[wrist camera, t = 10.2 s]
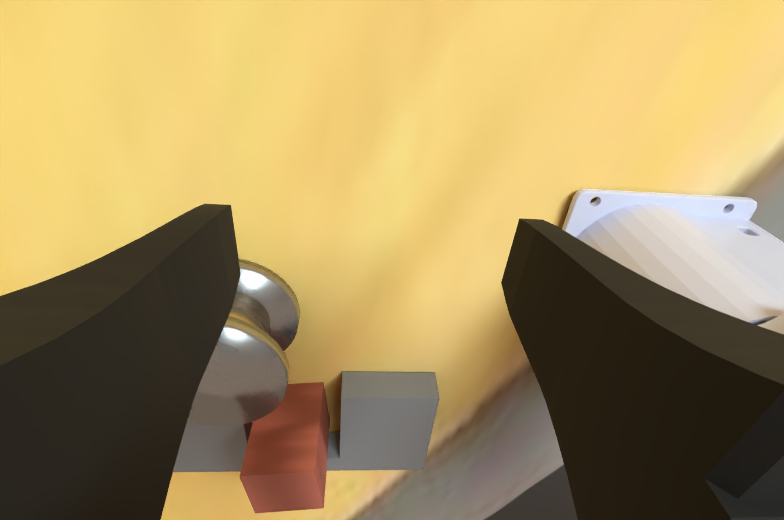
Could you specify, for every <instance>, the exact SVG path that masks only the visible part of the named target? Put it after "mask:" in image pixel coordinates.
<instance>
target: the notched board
mask: <svg viewBox="0 0 784 520" xmlns="http://www.w3.org/2000/svg"><path fill="white" fill-rule="evenodd" d="M438 401H439V394H438V388H437V383H436V377H435V373H429V372H345V371H342V390H341V423H340V432H329V441H328V455H327V469H326V471H328V470H423V468H424V464H425V459H426V455H427V450H428V446H429V442H430V437H431V433H432V428H433V424H434V419H435V415H436V410H437V406H438ZM252 424H253V422H250V423H246V424H241V425H235V426H206V425H199V424H194V423H190V422H187V424H186V427H185V430H184V434H183V437H182V440H181V444H180V448H179V451H178V455H177V458H176V462H175V466H174V469H173V472H225V471H241V469H242V464H243V460H244V456H245V452H246V448H247V444H248V440H249V436H250V432H251V428H252Z"/></svg>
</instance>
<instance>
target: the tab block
mask: <svg viewBox="0 0 784 520" xmlns="http://www.w3.org/2000/svg"><path fill="white" fill-rule="evenodd" d="M329 428H330V416H329V411H328V405H327V400H326V394H325V389H324V383H323V382H319V383H303V384H288V385H287V388H286V393H285V396H284V398H283V400H282V401H281V403H280V404H279V405H278V406H277V408H276V409H275V410H273V411H272V412H271V413H269V414H268V415H266V416H264V417H263V418H260V419H258V420H256V421H253V424H252V428H251V432H250V436H249V440H248V444H247V448H246V452H245V456H244V460H243V464H242V469H241V473H240V479H241V481H242V483H243V486H244V488H245V490H246V493H247V495H248V497H249V500H250V502H251V504H252V507H253V509H254V511H255V513H265V512H278V511H292V510H306V509H319V508H324V496H325V482H326V469H327V455H328V441H329Z"/></svg>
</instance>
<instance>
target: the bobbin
mask: <svg viewBox="0 0 784 520" xmlns="http://www.w3.org/2000/svg"><path fill="white" fill-rule="evenodd" d="M239 266H240V272H241V275H240V279H239V283H238V287H237V291H236V295H235V299H234V303H233V306H232V309H231V311H230V314H229V316H228V319H227V321H226V323H225V326H224V328H223V331H222V333H221V335H220V338H219V340H218V342H217V345H216V347H215V349H214V352H213V354H212V356H211V358H210V361H209V363H208V365H207V368H206V370H205V372H204V375H203V377H202V379H201V382H200V384H199V387H198V390H197V392H196V395H195V398H194V401H193V404H192V407H191V410H190V414H189V417H188V420H187V422H190V423H194V424H199V425H206V426H235V425H241V424H246V423H250V422H253V421H256V420H258V419H260V418H263V417H264V416H266V415H268V414H269V413H271V412H272V411H273V410H275V409H276V408H277V406H278V405H279V404H280V403H281V401H282V400H283V398H284V396H285V393H286V388H287V383H288V377H289V365H288V360H287V358H286V355H285V353H284V352H283V351H284V350H285V349H286V348H287V347H288V346H289V345H290V344H291V343H292V341H293V339H294V338H295V335H296V333H297V328H298V323H299V318H300V309H299V304H298V301H297V298H296V296H295V294H294V292H293V291H292V289H291V288H290V286H289V285H288V284H287V283H286V282H285V281H284V280H283V279H282V278H281V277H279V276H278V275H277V274H275V273H274V272H272V271H271V270H269V269H267V268H265V267H263V266H261V265H258V264H256V263H253V262H249V261H246V260H241V259H239Z"/></svg>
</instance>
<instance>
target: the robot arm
mask: <svg viewBox="0 0 784 520" xmlns="http://www.w3.org/2000/svg"><path fill="white" fill-rule="evenodd" d="M594 197H597V199H596V201H594V202H593V203H590V201H591V200H592V199H593V198H594ZM727 205H728V206H727ZM725 206H727V207H726V208H724V207H725ZM756 207H757V203H756V201H754V200H753V199H751V198H748V197H731V196H713V195H695V194H677V193H658V192H640V191H622V190H603V189H581V190H579V191H578V192H577V193H575V195H574V197H573V199H572V202H571V204H570V207H569V210H568V213H567V216H566V219H565V221H564V224H563V227H562V229H560V228H559V227H557V226H555V225H553V224H551V223H549V222H547V221H544V220H537V219H519V222H518V226H517V229H516V233H515V236H514V240H513V243H512V247H511V250H510V254H509V257H508V261H507V264H506V268H505V271H504V275H503V279H502V282H501V283H502V287H503V291H504V296H505V300H506V304H507V307H508V311H509V314H510V317H511V319H512V322H513V324H514V327H515V329H516V331H517V334H518V336H519V338H520V341H521V343H522V345H523V348H524V350H525V352H526V355H527V357H528V359H529V362H530V364H531V366H532V368H533V371H534V373H535V375H536V378H537V380H538V382H539V385H540V387H541V390H542V392H543V395H544V398H545V400H546V403H547V407H548V410H549V413H550V416H551V420H552V423H553V426H554V430H555V433H556V436H557V440H558V443H559V447H560V451H561V454H562V458H563V462H564V465H565V469H566V472H567V476H568V480H569V484H570V488H571V493H572V497H573V500H574V505H575V509H576V514H577V518H578V520H784V242H782V241H781V240H779V239H778V238H776V237H774V236H773V235H771V234H770V233H768V232H767V231H765V230H764V229H762V228H760V227H759V226H757V225H756V224H754V223H753V222H751V221H750V220H749V219H750V218H751V216H752V214H753V213H754V211H755V210H756ZM240 275H241V272H240V266H239V259H238V252H237V245H236V238H235V231H234V224H233V217H232V210H231V205H217V204H203V205H201V206H198V207H196V208H194V209H192V210H190V211H188V212H186V213H184V214H183V215H181V216H179V217H177V218H175V219H174V220H172V221H170V222H168V223H166V224H165V225H163V226H161V227H159V228H157V229H156V230H154V231H152V232H150V233H148V234H146V235H145V236H143V237H141V238H139V239H137V240H135V241H133V242H131V243H129V244H127V245H125V246H123V247H121V248H119V249H117V250H115V251H113V252H111V253H109V254H107V255H105V256H103V257H101V258H99V259H97V260H95V261H92V262H90V263H88V264H86V265H83V266H81V267H79V268H76V269H74V270H71V271H69V272H66V273H64V274H61V275H59V276H56V277H54V278H51V279H49V280H46V281H44V282H41V283H38V284H35V285H32V286H29V287H26V288H23V289H20V290H17V291H14V292H11V293H8V294H5V295H2V296H0V520H161V516H162V512H163V508H164V504H165V500H166V496H167V492H168V488H169V484H170V480H171V476H172V473H173V469H174V466H175V462H176V458H177V455H178V451H179V448H180V444H181V440H182V437H183V434H184V430H185V427H186V424H187V420H188V417H189V414H190V410H191V407H192V404H193V401H194V398H195V395H196V392H197V390H198V387H199V384H200V382H201V379H202V377H203V375H204V372H205V370H206V368H207V365H208V363H209V361H210V358H211V356H212V354H213V352H214V349H215V347H216V345H217V342H218V340H219V338H220V335H221V333H222V331H223V328H224V326H225V323H226V321H227V319H228V316H229V314H230V311H231V309H232V306H233V303H234V299H235V295H236V291H237V287H238V283H239V279H240Z"/></svg>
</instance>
